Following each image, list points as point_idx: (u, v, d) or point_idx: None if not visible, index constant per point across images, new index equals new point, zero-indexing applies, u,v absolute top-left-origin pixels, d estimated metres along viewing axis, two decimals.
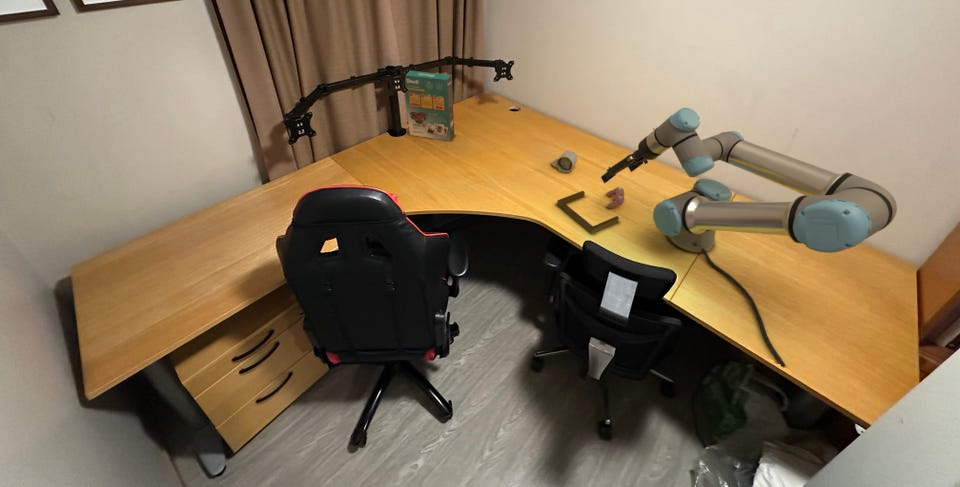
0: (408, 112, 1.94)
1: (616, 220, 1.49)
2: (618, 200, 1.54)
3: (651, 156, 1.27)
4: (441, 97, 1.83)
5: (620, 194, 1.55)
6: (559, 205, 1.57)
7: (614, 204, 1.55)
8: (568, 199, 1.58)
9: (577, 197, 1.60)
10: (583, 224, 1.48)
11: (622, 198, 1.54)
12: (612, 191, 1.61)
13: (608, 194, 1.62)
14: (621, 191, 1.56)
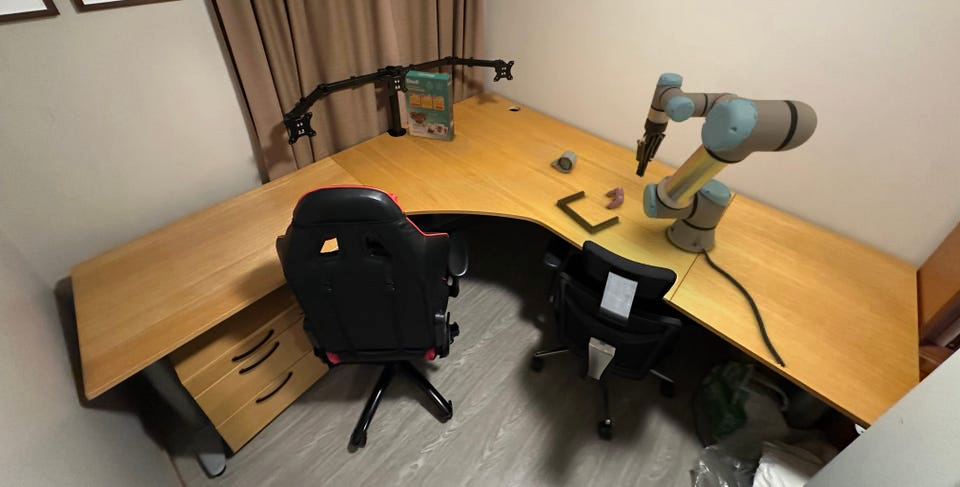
0: (408, 112, 1.94)
1: (616, 220, 1.49)
2: (618, 200, 1.54)
3: (658, 127, 1.40)
4: (441, 97, 1.83)
5: (620, 194, 1.55)
6: (559, 205, 1.57)
7: (614, 204, 1.55)
8: (568, 199, 1.58)
9: (577, 197, 1.60)
10: (583, 224, 1.48)
11: (622, 198, 1.54)
12: (612, 191, 1.61)
13: (608, 194, 1.62)
14: (621, 191, 1.56)
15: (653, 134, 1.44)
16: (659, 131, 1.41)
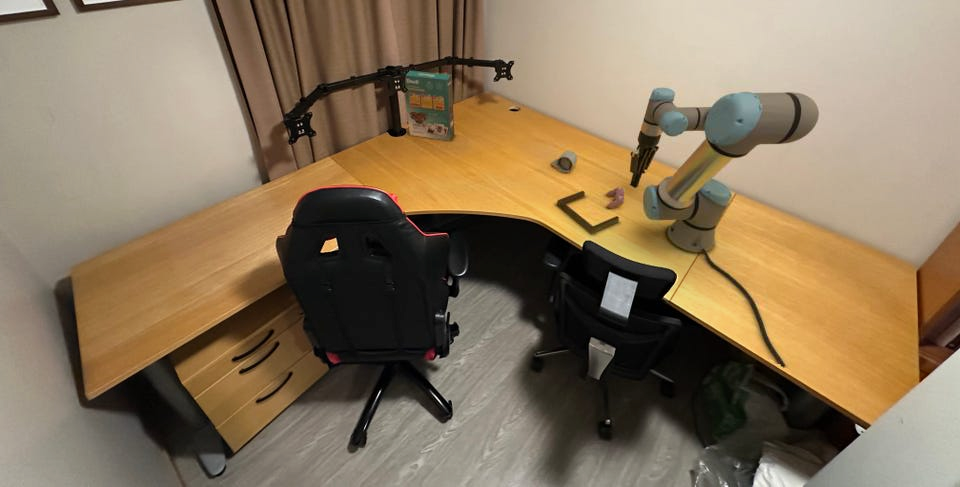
0: (408, 112, 1.94)
1: (616, 220, 1.49)
2: (618, 200, 1.54)
3: (651, 140, 1.42)
4: (441, 97, 1.83)
5: (620, 194, 1.55)
6: (559, 205, 1.57)
7: (614, 204, 1.55)
8: (568, 199, 1.58)
9: (577, 197, 1.60)
10: (583, 224, 1.48)
11: (622, 198, 1.54)
12: (612, 191, 1.61)
13: (608, 194, 1.62)
14: (621, 191, 1.56)
15: (646, 147, 1.47)
16: (652, 144, 1.43)
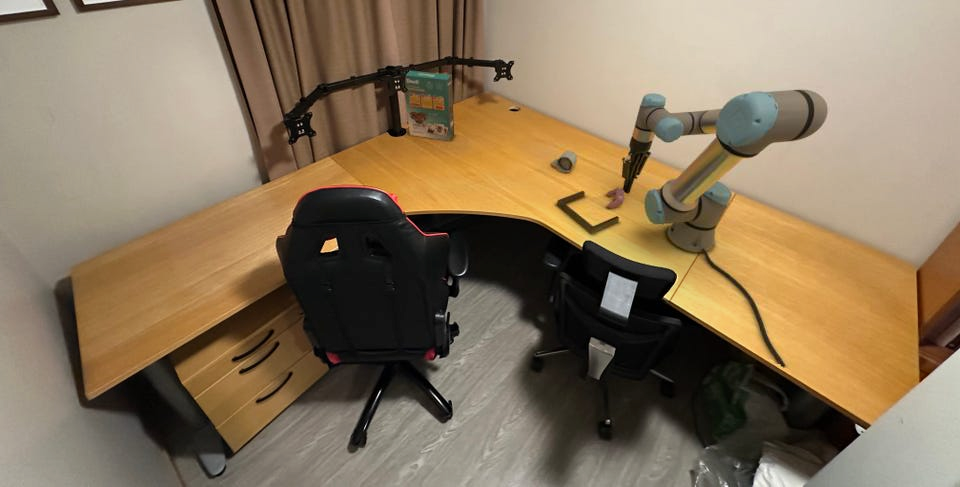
0: (408, 112, 1.94)
1: (616, 220, 1.49)
2: (618, 200, 1.54)
3: (642, 146, 1.42)
4: (441, 97, 1.83)
5: (620, 194, 1.55)
6: (559, 205, 1.57)
7: (614, 204, 1.55)
8: (568, 199, 1.58)
9: (577, 197, 1.60)
10: (583, 224, 1.48)
11: (622, 198, 1.54)
12: (612, 191, 1.61)
13: (608, 194, 1.62)
14: (621, 191, 1.56)
15: (638, 152, 1.46)
16: (643, 150, 1.43)
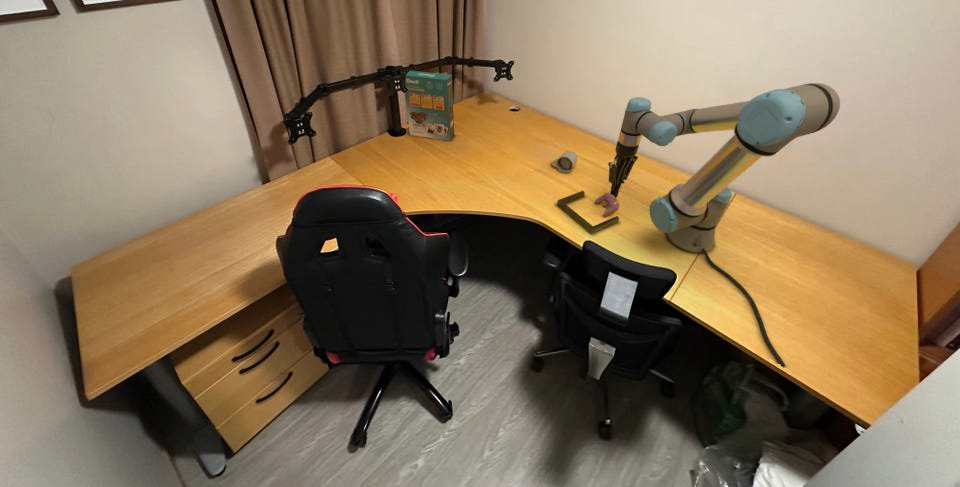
0: (408, 112, 1.94)
1: (616, 220, 1.49)
2: (614, 206, 1.51)
3: (628, 150, 1.39)
4: (441, 97, 1.83)
5: (613, 200, 1.52)
6: (559, 205, 1.57)
7: (611, 211, 1.52)
8: (568, 199, 1.58)
9: (577, 197, 1.60)
10: (583, 224, 1.48)
11: (617, 203, 1.51)
12: (601, 198, 1.57)
13: (597, 201, 1.58)
14: (612, 196, 1.53)
15: (624, 157, 1.43)
16: (630, 154, 1.40)
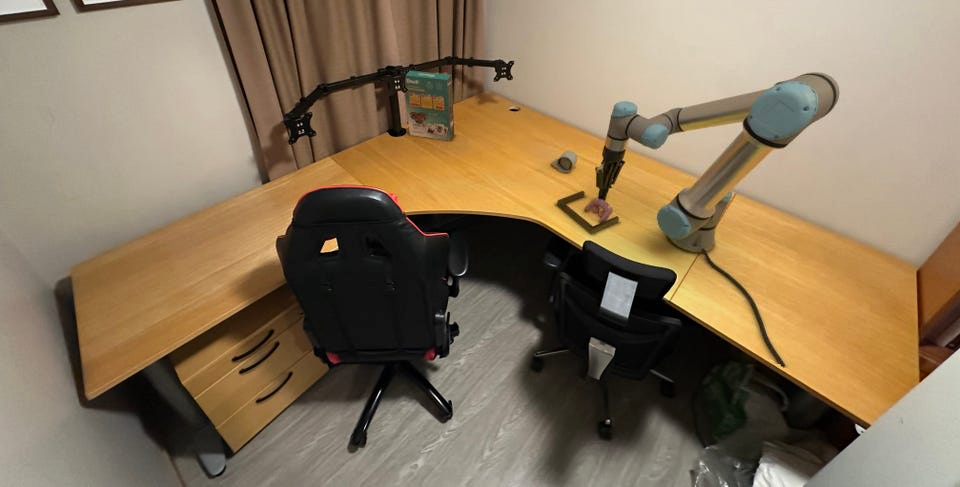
0: (408, 112, 1.94)
1: (616, 220, 1.49)
2: (609, 211, 1.49)
3: (615, 155, 1.37)
4: (441, 97, 1.83)
5: (605, 204, 1.50)
6: (559, 205, 1.57)
7: (607, 216, 1.49)
8: (568, 199, 1.58)
9: (577, 197, 1.60)
10: (583, 224, 1.48)
11: (610, 207, 1.50)
12: (590, 205, 1.54)
13: (586, 209, 1.55)
14: (603, 201, 1.51)
15: (611, 161, 1.41)
16: (616, 159, 1.38)
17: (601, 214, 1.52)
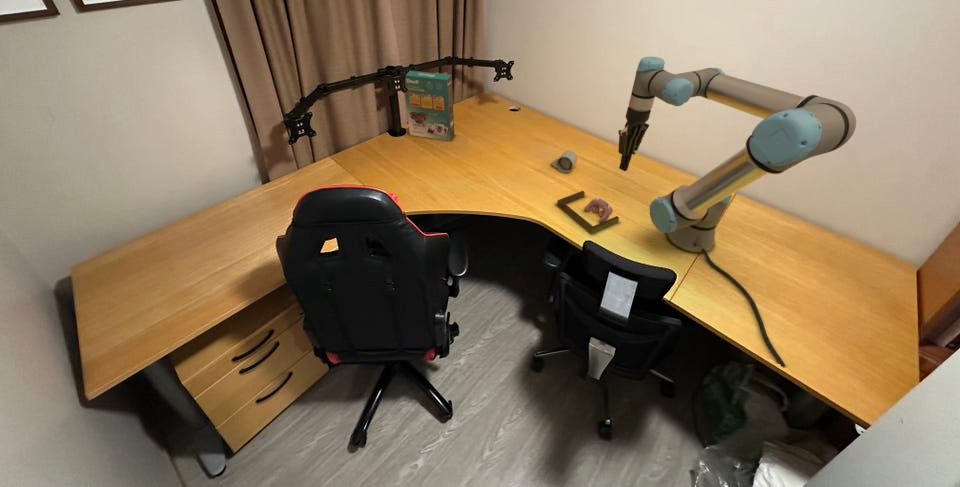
0: (408, 112, 1.94)
1: (616, 220, 1.49)
2: (609, 211, 1.49)
3: (640, 115, 1.30)
4: (441, 97, 1.83)
5: (605, 204, 1.50)
6: (559, 205, 1.57)
7: (607, 216, 1.49)
8: (568, 199, 1.58)
9: (577, 197, 1.60)
10: (583, 224, 1.48)
11: (610, 207, 1.50)
12: (590, 205, 1.54)
13: (586, 209, 1.55)
14: (603, 201, 1.51)
15: (635, 124, 1.34)
16: (641, 120, 1.31)
17: (601, 214, 1.52)
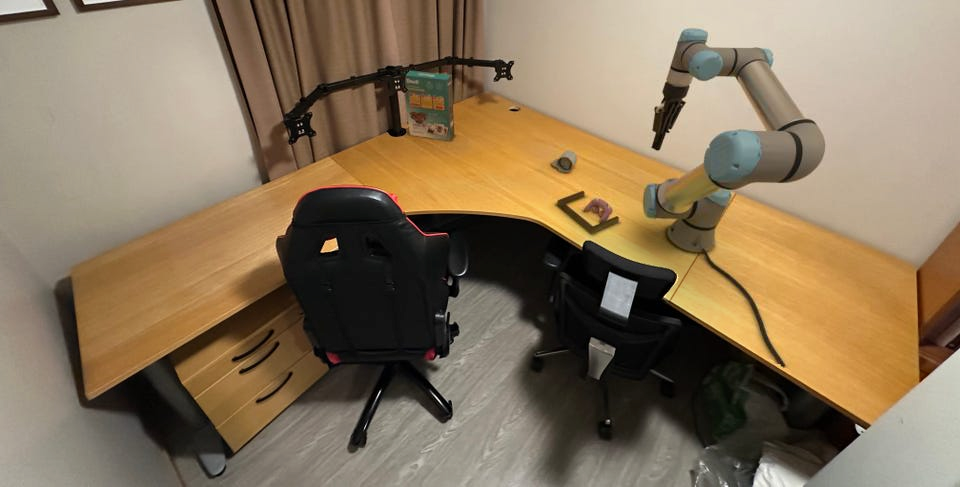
0: (408, 112, 1.94)
1: (616, 220, 1.49)
2: (609, 211, 1.49)
3: (678, 91, 1.25)
4: (441, 97, 1.83)
5: (605, 204, 1.50)
6: (559, 205, 1.57)
7: (607, 216, 1.49)
8: (568, 199, 1.58)
9: (577, 197, 1.60)
10: (583, 224, 1.48)
11: (610, 207, 1.50)
12: (590, 205, 1.54)
13: (586, 209, 1.55)
14: (603, 201, 1.51)
15: (672, 100, 1.30)
16: (680, 96, 1.26)
17: (601, 214, 1.52)
